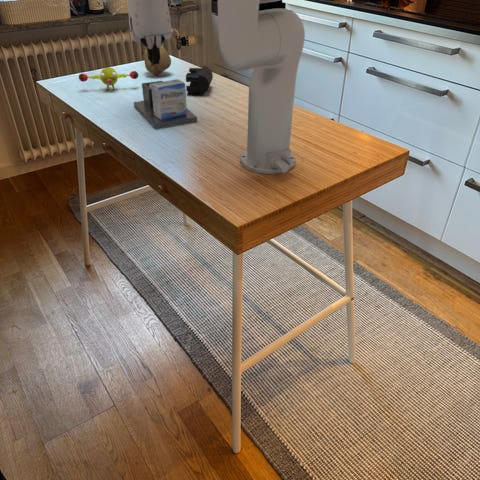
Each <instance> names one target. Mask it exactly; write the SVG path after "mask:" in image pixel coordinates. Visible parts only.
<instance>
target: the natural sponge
mask: <svg viewBox="0 0 480 480" xmlns="http://www.w3.org/2000/svg"><path fill="white" fill-rule="evenodd" d="M152 46H153V44H152ZM143 60H144V67H145V69H146V71H147V72H149V73H151V74H152V75H154V76H160V75H161V74H163V72H164V71H166V70H168V69H169V68H170V67H171V65H172V59H171V56H170V54H169V52H168V51H167V49H165V47H164V46H163V45H161V47H160V60H159V64H155V65H153V64H152V63H151V62H150V61H149V60H148V53H147V47H146V48H145V50H144V51H143Z"/></svg>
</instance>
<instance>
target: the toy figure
mask: <svg viewBox="0 0 480 480" xmlns="http://www.w3.org/2000/svg"><path fill="white" fill-rule="evenodd" d="M127 77H130V78H131V79H132V80H137V79H138V77H139V73H138V72H137V71H136V70H132V71H131V72H130V73H129V74H126V73H122V74H120V73H117V72H116V70H115V69H113V68H111V67H105V68H103V69H102V70H101V71H100V74H98V75H94V74H93V75H91V76H88V74H86V73H84V72H83V73H80V74H79V75H78V80H79V81H81V83H83V82H87V80H88V79H92V80H96V79H97V80H101V82H102V83H103V84H104V85H106V90H107V91H108V92H109V91H110V86H112V87H111V88H112V91H115V84H116V83H117V82H118V80H119V79H121V78H124V79H125V78H127Z"/></svg>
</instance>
